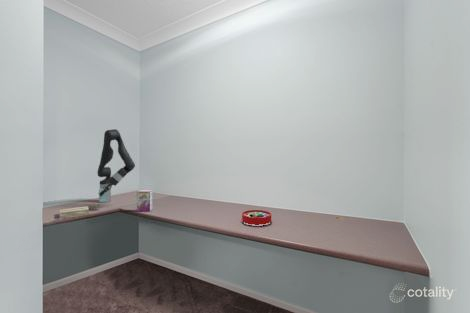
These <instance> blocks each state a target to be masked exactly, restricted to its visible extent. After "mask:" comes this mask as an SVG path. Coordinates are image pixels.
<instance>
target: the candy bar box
mask: <svg viewBox="0 0 470 313" xmlns="http://www.w3.org/2000/svg"><path fill="white" fill-rule="evenodd" d="M150 210H151V211H153V190H148V189H147V190H143V189H141V190H137V191H136V211H137V212H151V211H150Z"/></svg>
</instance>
